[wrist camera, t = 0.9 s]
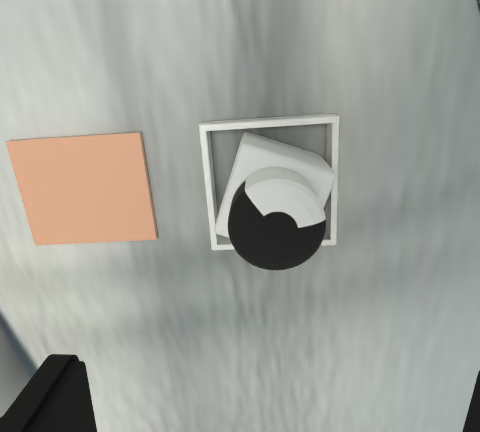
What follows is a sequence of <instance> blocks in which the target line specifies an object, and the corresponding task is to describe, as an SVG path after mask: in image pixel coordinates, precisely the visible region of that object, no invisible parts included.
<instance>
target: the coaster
mask: <svg viewBox="0 0 480 432" xmlns="http://www.w3.org/2000/svg"><path fill="white" fill-rule="evenodd" d="M6 144H7V148H8V151H9V155H10V158H11V162H12V165H13V169H14V173H15V176H16V180H17V183H18V187H19V190H20V194H21V197H22V201H23V204H24V208H25V211H26V215H27V218H28V222H29V225H30V229H31V232H32V236H33V239H34V243H35V245H48V244H69V243H91V242H113V241H134V240H156V239H157V238H158V234H157V227H156V221H155V215H154V208H153V202H152V195H151V189H150V183H149V176H148V170H147V164H146V157H145V151H144V145H143V138H142V132H131V133H116V134H101V135H85V136H70V137H55V138H39V139H24V140H10V141H6Z"/></svg>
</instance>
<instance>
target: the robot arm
mask: <svg viewBox="0 0 480 432" xmlns="http://www.w3.org/2000/svg"><path fill="white" fill-rule="evenodd" d="M479 2H480V0H479ZM0 432H97V429H96V423H95V417H94V412H93V406H92V400H91V394H90V389H89V383H88V377H87V371H86V366H85V363H84V362H83V361H79V359H78V357H77V356H76V355H62V354H52V355H49V356H48V357H47V358H46V360H45V361H44V362H43V364H42V365H41V366H40V368H39V369H38V370H37V372H36V373H35V374H34V376H33V377H32V378H31V380H30V381H29V382H28V384H27V385H26V386H25V388H24V389H23V390H22V392H21V393H20V394H19V396H18V397H17V398H16V400H15V401H14V402H13V404H12V405H11V406H10V408H9V409H8V410H7V412H6V413H5V414H4V416H2V417H1V418H0ZM463 432H480V371H479V373H478V376H477V380H476V384H475V388H474V391H473V395H472V399H471V402H470V406H469V410H468V413H467V417H466V421H465V425H464V428H463Z"/></svg>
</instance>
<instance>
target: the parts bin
mask: <svg viewBox="0 0 480 432" xmlns="http://www.w3.org/2000/svg"><path fill="white" fill-rule="evenodd" d="M323 123H327V150H326V162H327V164H328V165H329V166H330V167H331V168H332V169H333V171H334V172H335V173H336V179H335V182H334V184H333V187H332V189H331V191H330V194H329V196H328V199H327V201H326V231H325V235H324V238H323V241H322V243H321V245H320V246H323V245H336V233H337V191H338V148H339V116H338V115H336V114H334V113H329V114H314V115H299V116H284V117H269V118H254V119H239V120H223V121H208V122H202V123H201V124H200V125H199V130H200V139H201V149H202V159H203V168H204V178H205V187H206V197H207V207H208V216H209V226H210V236H211V245H212V250H231V249H234V247H233V245H232V243H231V241H230V238H228V237H225V236H222V235H218V234H216V233H215V231H214V228H215V224H216V221H217V217H218V211H217V200H216V190H215V179H214V168H213V158H212V147H211V137H210V131H215V130H230V129H246V128H261V127H277V126H292V125H308V124H323Z"/></svg>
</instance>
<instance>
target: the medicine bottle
mask: <svg viewBox="0 0 480 432" xmlns="http://www.w3.org/2000/svg"><path fill="white" fill-rule="evenodd" d="M335 179H336V173H335V172H334V171H333V169H332V168H331V167H330V166H329V165H328V164H327V162H326V161H325V160H324V159H323V158H322V157H321V156H320V155H319V154H316V153H313V152H310V151H307V150H304V149H301V148H298V147H295V146H291V145H288V144H285V143H282V142H279V141H276V140H273V139H270V138H267V137H264V136H261V135H257V134H254V133H251V132H248V131H246V132H244V133H243V135H242V138H241V142H240V145H239V148H238V151H237V155H236V158H235V161H234V164H233V168H232V171H231V174H230V177H229V180H228V184H227V187H226V190H225V193H224V197H223V200H222V203H221V207H220V210H219V214H218V217H217V221H216V224H215V228H214V231H215V233H216V234H218V235H222V236H225V237H228V238H230V241H231V243H232V245H233V247H234V249H235V250H236V251H237V253H238V254H239V255H240V256H241V257H242V258H243V259H245V260H246V261H247V262H249V263H251V264H252V265H254V266H257V267H259V268H263V269H268V270H284V269H289V268H293V267H295V266H298V265H300V264H302V263H303V262H305V261H306V260H308V259H309V258H310V257H311V256H312V255H313V254H314V253H315V252H316V251H317V250H318V248H319V247H320V245H321V243H322V241H323V238H324V235H325V231H326V217H325V212H324V209H323V208H324V206H325V203H326V201H327V199H328V196H329V194H330V191H331V189H332V187H333V184H334V182H335Z"/></svg>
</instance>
